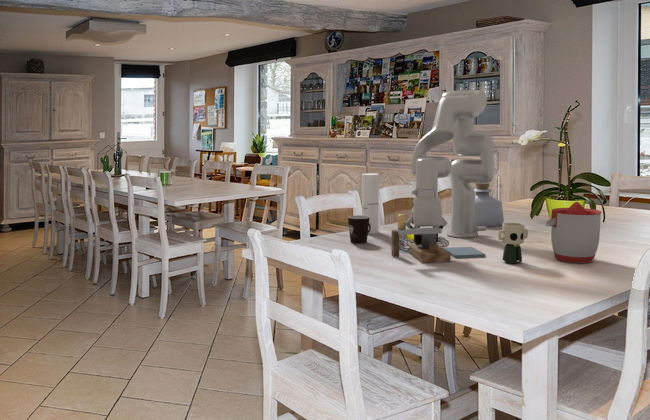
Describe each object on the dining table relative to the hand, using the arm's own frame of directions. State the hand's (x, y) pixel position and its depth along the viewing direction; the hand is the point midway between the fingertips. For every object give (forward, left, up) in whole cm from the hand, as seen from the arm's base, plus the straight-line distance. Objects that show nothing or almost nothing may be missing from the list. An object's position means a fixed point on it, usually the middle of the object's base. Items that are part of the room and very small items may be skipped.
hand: (425, 243), depth 217 cm
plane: (+4, 0, -4) cm, 5 cm away
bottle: (-45, -61, -4) cm, 76 cm away
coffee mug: (+19, -26, -4) cm, 32 cm away
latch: (+5, +9, +5) cm, 11 cm away
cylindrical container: (+10, -48, -4) cm, 49 cm away
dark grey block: (0, 0, -1) cm, 1 cm away
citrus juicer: (-46, +16, -4) cm, 49 cm away
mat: (-14, 0, -4) cm, 15 cm away
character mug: (-25, +16, -4) cm, 30 cm away
